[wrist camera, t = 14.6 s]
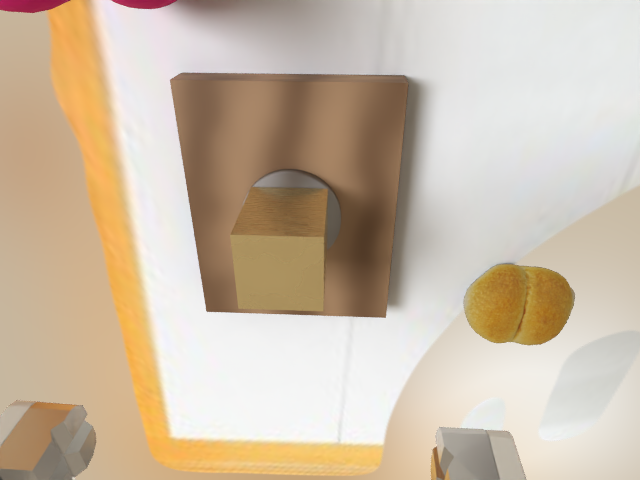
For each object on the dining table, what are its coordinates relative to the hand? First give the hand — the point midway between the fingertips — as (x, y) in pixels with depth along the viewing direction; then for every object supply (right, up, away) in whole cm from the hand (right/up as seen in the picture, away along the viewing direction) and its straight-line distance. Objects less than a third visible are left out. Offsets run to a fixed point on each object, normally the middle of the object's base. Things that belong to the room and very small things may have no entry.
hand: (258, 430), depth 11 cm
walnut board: (-1, +8, +27) cm, 28 cm away
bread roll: (+19, -1, +32) cm, 37 cm away
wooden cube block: (-1, +6, +24) cm, 25 cm away
